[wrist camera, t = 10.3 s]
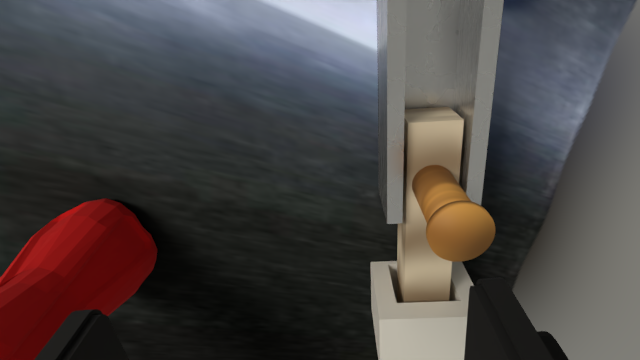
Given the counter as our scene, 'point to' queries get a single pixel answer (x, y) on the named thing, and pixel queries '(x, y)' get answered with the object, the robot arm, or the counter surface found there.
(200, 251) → the counter surface
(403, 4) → the channel sleeve
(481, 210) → the slip bar
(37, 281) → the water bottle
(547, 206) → the counter surface
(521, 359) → the robot arm
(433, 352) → the socket block
